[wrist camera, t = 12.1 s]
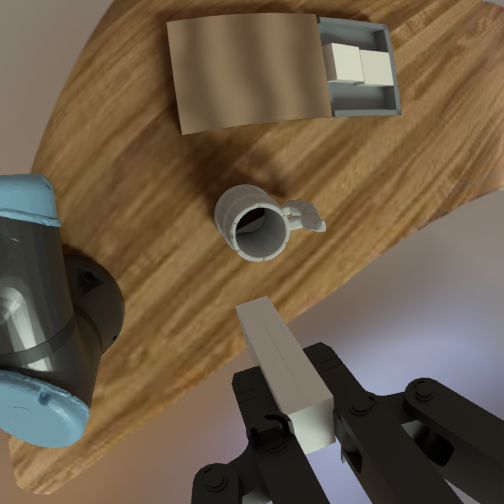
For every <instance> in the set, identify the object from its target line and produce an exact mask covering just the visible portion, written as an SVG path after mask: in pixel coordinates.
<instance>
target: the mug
mask: <svg viewBox="0 0 504 504" xmlns="http://www.w3.org/2000/svg"><path fill="white" fill-rule="evenodd" d="M258 207H264V209H265V212H264V216H262V217H260V218H259V219H257V220H255V221H253V222H251V223H249V224H248V225H246V226H244V227H242V228H240V229H238V230H237V231H235V230H236V225H237V223H238V221H239V220H240V218H241V217H242V216H243V215H244V214H245V213H247V212H248V211H250V210H252V209H255V208H258ZM289 214H292V215H298V216H294V217H289V218H287V216H286V215H289ZM214 221H215V224H216V227H217V229H218V230H219V232H220V233H221V235H222V236H223V237H224V238H225V240H226V242H227V243H228V244H229V246H230V247H231V248H232V249H233V250H235V251H236V252H237V253H238V254H239V255H240V256H241V257H243V258H245V259H247V260H249V261H254V262H258V261H262V260H264V261H267V260H269V259H272V258H274V257H275V256H276V255H278V254H279V253H280V252H281V251H282V250H283V249H284V247H285V246H286V242H288V239H289V235H290V230H294V229H299V228H306V229H310V230H312V231H316V232H323V231H326V225H325V221H324V220H322V219H321V218H320V216H319V213H318V210H317V209H316V207H315V205H314V204H312V203H310V202H307V201H304V200H300V199H298V200H291V201H288V202H286V203H284V204H282V205H278V203H277V202H276V201H274V200H273V199H272V198H270V197H269V196H268V194H267V193H266V192H265V191H263V190H262V189H261V188H259V187H258V186H254V185H249V184H241V185H237V186H234V187H231V188H230V189H228V190H227V191H225V192H224V193H223V194H222V195H221V197H220V198H219V200H218V201H217V204H216V206H215V211H214ZM244 232H249V233H245V234H244ZM237 233H243V234H237Z"/></svg>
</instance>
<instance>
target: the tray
mask: <svg viewBox="0 0 504 504" xmlns="http://www.w3.org/2000/svg"><path fill="white" fill-rule="evenodd" d="M317 24H318V29H319V34H320V40H321V46H324V45H327V44H330V43H335V44H342V45H348V46H354V47H359V50H367V51H377V52H386V53H389V58H390V64H391V71H392V77H393V85H394V86H387V87H373V86H355V83H337V82H327V83H328V90H329V97H330V105H331V113H332V117H345V116H393V115H401V107H400V99H399V90H398V83H397V76H396V69H395V63H394V57H393V51H392V46H391V41H390V36H389V31H388V26H387V25H382V24H376V23H370V22H363V21H355V20H347V19H337V18H325V17H319V18H318V19H317ZM325 118H326V117H325Z"/></svg>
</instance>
